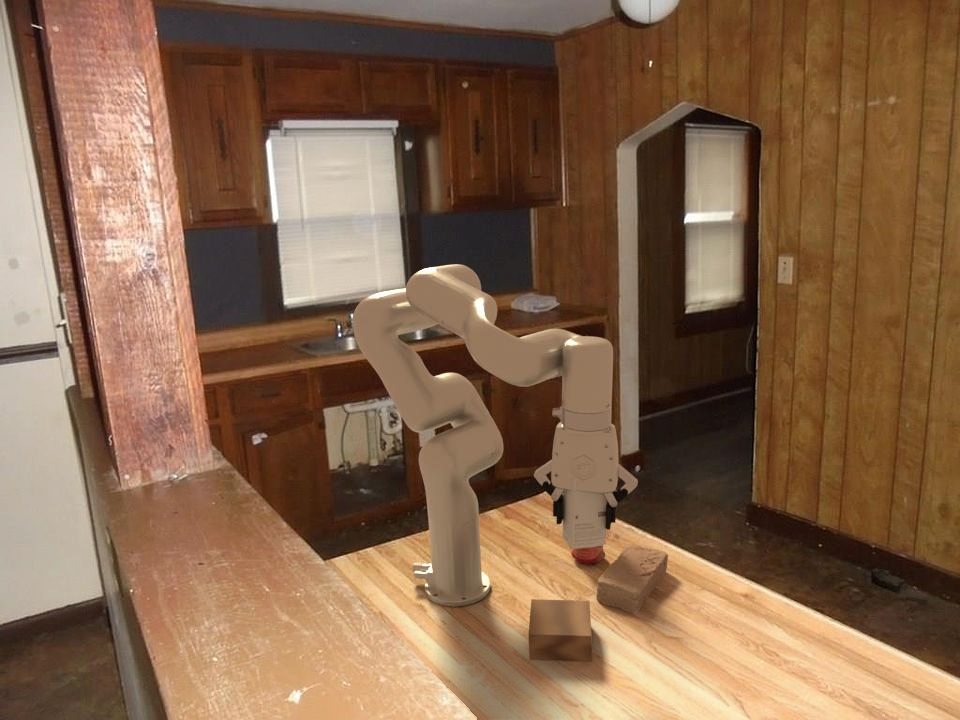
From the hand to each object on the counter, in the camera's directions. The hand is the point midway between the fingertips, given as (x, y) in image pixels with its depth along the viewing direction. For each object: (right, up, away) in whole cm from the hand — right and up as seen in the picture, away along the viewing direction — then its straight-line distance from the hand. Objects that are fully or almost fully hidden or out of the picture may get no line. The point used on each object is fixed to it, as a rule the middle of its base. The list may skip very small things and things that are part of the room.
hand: (584, 522), depth 111 cm
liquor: (+6, -15, +32) cm, 36 cm away
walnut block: (-3, -22, +6) cm, 23 cm away
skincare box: (0, -3, +1) cm, 3 cm away
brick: (+13, -18, +22) cm, 31 cm away
